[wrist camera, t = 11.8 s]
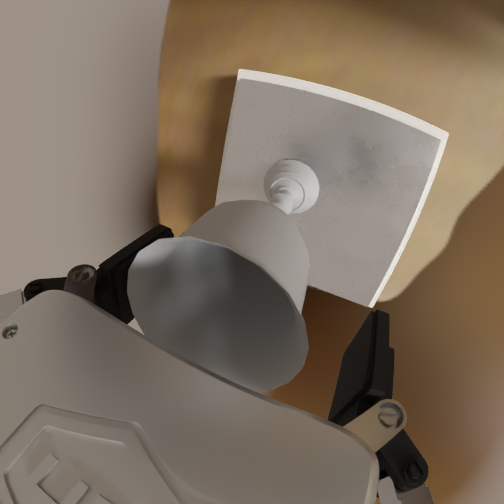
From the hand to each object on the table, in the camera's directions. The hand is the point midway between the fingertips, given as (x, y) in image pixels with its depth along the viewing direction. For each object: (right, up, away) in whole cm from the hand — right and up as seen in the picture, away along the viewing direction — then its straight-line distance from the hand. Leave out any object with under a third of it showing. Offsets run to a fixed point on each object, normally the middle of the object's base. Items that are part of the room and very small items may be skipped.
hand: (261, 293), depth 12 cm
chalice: (+3, +8, +13) cm, 15 cm away
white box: (+7, +8, +18) cm, 21 cm away
